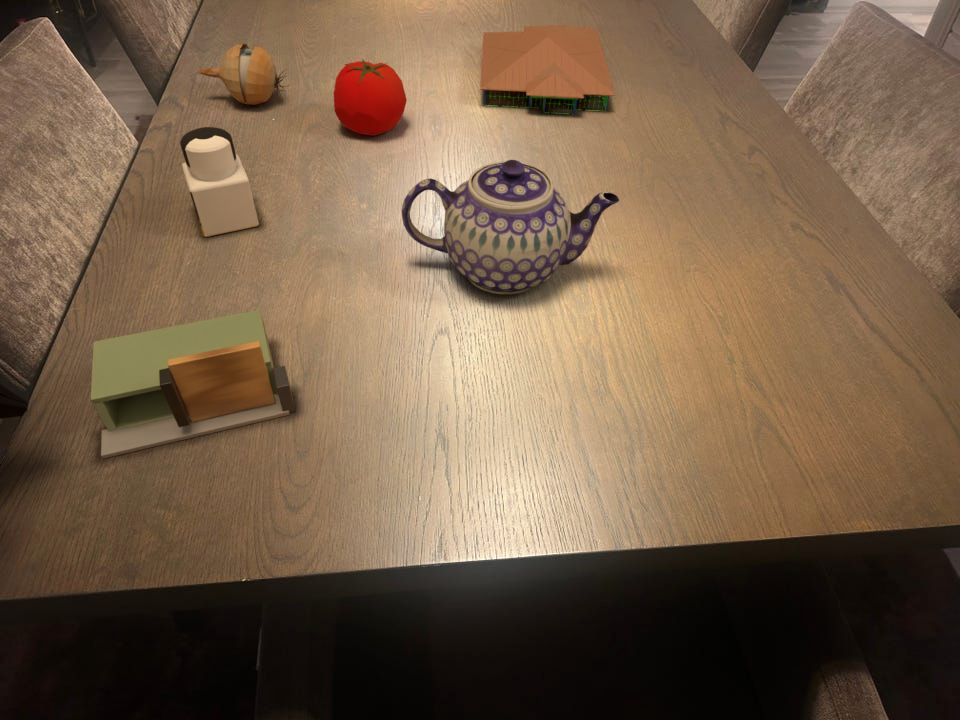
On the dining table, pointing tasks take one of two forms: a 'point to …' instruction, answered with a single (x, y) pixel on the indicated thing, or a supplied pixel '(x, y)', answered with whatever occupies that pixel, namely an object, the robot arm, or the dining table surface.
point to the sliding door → (216, 383)
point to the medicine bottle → (217, 182)
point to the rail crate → (136, 386)
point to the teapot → (508, 226)
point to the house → (546, 64)
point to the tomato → (369, 97)
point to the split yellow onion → (247, 74)
